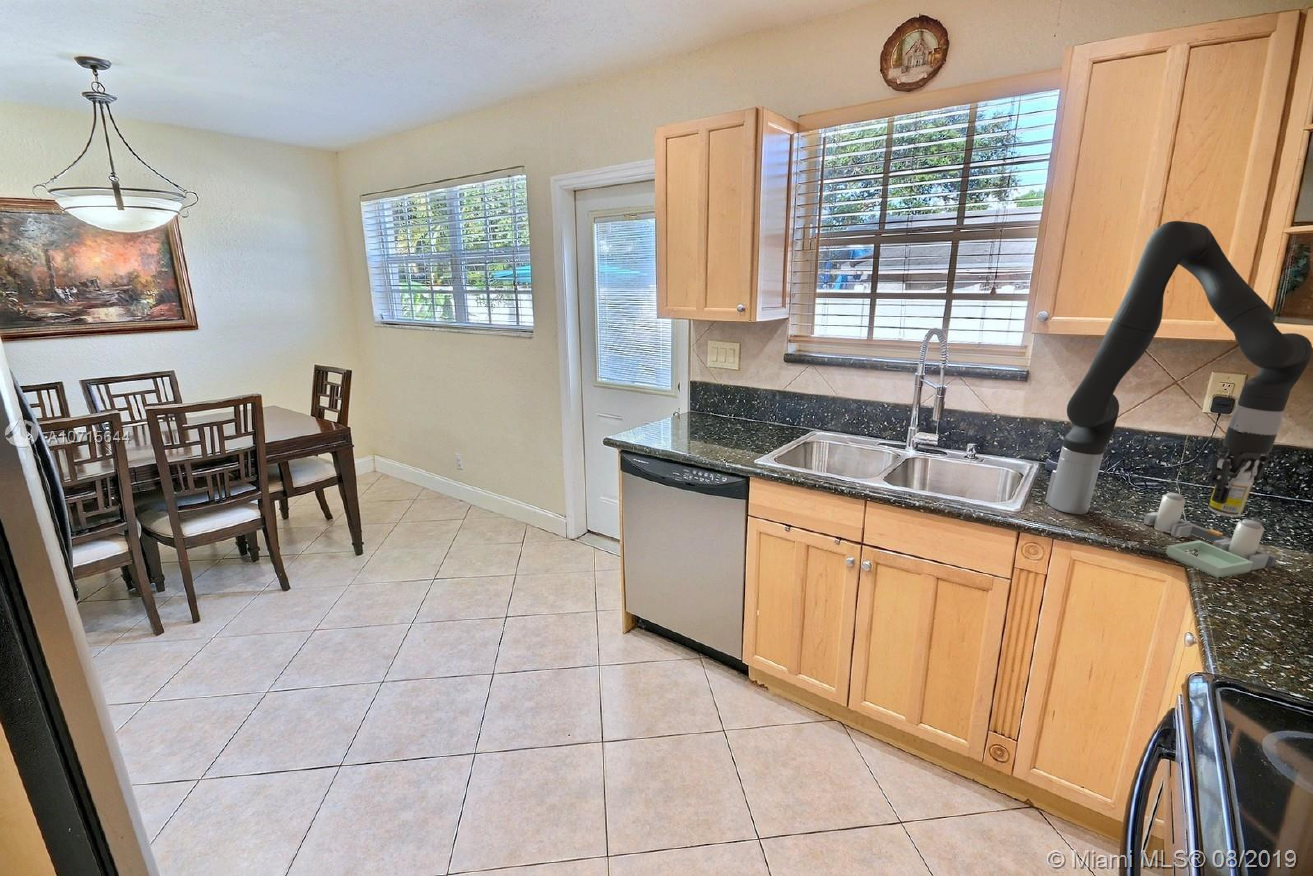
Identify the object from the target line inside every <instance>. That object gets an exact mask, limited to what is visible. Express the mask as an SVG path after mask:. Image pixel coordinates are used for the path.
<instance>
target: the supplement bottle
mask: <svg viewBox="0 0 1313 876" xmlns="http://www.w3.org/2000/svg"><path fill="white" fill-rule="evenodd" d="M1229 473H1230V474H1235V473H1232V472H1229ZM1250 475H1251V472H1250V471H1245V472H1243V474H1242V475H1241V477H1240V478H1239V479H1238V480H1235V481H1234V483H1233V484H1232V486H1231V487H1230V491H1229V494H1228V497H1227V500H1226V503H1223V504H1220V503H1217V502H1214V501H1213V500H1212V497H1213V494H1214V491H1215V488H1216V484H1214V489H1213V491H1212V493H1211V497H1210V500H1209V503H1208V510H1209V511H1210V512H1213V513H1215V514H1217V515H1221V516H1224V517H1231V518H1237V517H1240V516H1242V515H1243V511H1244V509H1245V506H1246V503H1247V501H1248V498H1249V496H1250V493H1251V490H1252V487H1253V484H1254V483H1252V481H1251V480H1249V478H1250ZM1228 480H1229V477H1228ZM1228 480H1227V481H1228Z"/></svg>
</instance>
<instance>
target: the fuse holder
mask: <svg viewBox="0 0 1313 876" xmlns="http://www.w3.org/2000/svg"><path fill="white" fill-rule="evenodd" d="M1157 514H1158V511H1155V512H1148V513H1145V515H1144V519H1143V522H1144V523H1145V524H1148V525H1150V524H1154V523H1155V520H1156V517H1157ZM1190 533H1191V534H1194V535H1196V536H1199V537H1202V538H1204V539H1205V540H1209V541H1211V542H1213V544H1211V545H1212V546H1215V547H1217V548H1220V549H1222V550H1225V551H1228V548H1229V545H1230V543H1231V540H1232V537H1231V538H1230V537H1228V536H1226V535H1224V533H1223V532H1220V531H1217V530H1215V529H1213V528H1212V529H1208V528H1204V527H1202V526H1199V525H1197V524H1194V523H1191V522H1189V521H1186V520H1184V519H1181V518H1180V520H1179V523H1178V524H1175V525H1173V528H1172V531H1171V534H1173V535H1175V536H1189V537H1190V536H1191V535H1190ZM1205 540H1204V541H1205ZM1278 558H1279V557H1278V556H1277V555H1274V554H1271V553H1270V552H1269V553H1268V552H1267V551H1264V550H1262V549H1258V548H1257V550H1256V553H1255V555H1252V556H1250V559H1249V561H1252V562H1253V565H1252V567H1251V570H1250V571H1255V570H1260V569H1264V568H1266V566H1267V567H1269V568H1271V567H1275V565H1276V563H1277V559H1278Z"/></svg>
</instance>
